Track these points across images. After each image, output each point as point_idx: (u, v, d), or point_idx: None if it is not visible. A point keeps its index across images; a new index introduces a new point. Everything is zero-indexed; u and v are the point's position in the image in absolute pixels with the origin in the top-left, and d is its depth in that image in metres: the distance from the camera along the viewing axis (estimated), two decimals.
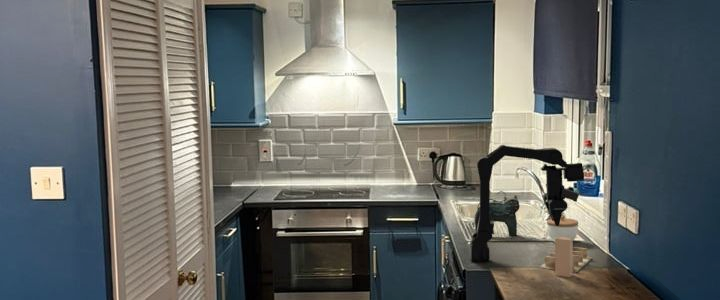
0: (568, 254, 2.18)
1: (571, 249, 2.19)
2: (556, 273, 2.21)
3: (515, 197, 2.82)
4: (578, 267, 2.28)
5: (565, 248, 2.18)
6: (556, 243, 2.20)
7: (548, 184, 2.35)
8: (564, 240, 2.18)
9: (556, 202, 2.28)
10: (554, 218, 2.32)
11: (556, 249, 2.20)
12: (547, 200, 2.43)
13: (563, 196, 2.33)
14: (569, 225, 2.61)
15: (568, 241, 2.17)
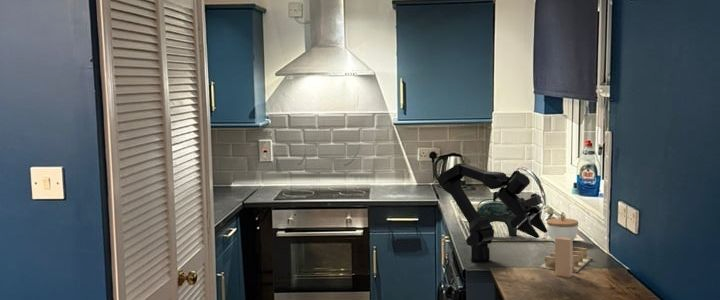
0: (568, 254, 2.18)
1: (571, 249, 2.19)
2: (556, 273, 2.21)
3: None
4: (578, 267, 2.28)
5: (565, 248, 2.18)
6: (556, 243, 2.20)
7: (507, 207, 2.29)
8: (564, 240, 2.18)
9: (513, 220, 2.20)
10: (528, 233, 2.21)
11: (556, 249, 2.20)
12: None
13: (524, 208, 2.24)
14: (569, 225, 2.61)
15: (568, 241, 2.17)
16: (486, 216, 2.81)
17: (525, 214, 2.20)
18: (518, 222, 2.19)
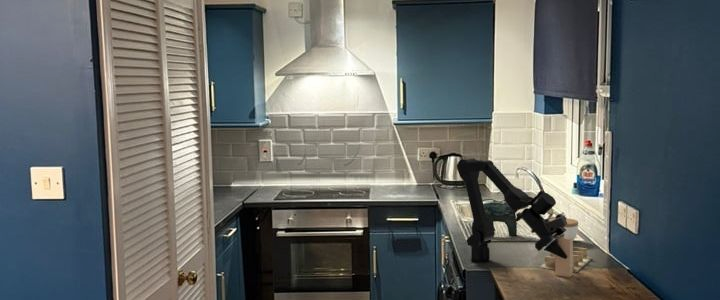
0: (568, 254, 2.18)
1: (571, 249, 2.19)
2: (556, 273, 2.21)
3: None
4: (578, 267, 2.28)
5: (565, 247, 2.18)
6: None
7: (531, 228, 2.24)
8: (564, 240, 2.18)
9: (538, 242, 2.16)
10: (556, 253, 2.19)
11: None
12: None
13: (549, 230, 2.19)
14: (569, 225, 2.61)
15: (568, 241, 2.17)
16: (486, 216, 2.81)
17: (551, 236, 2.15)
18: (544, 244, 2.14)
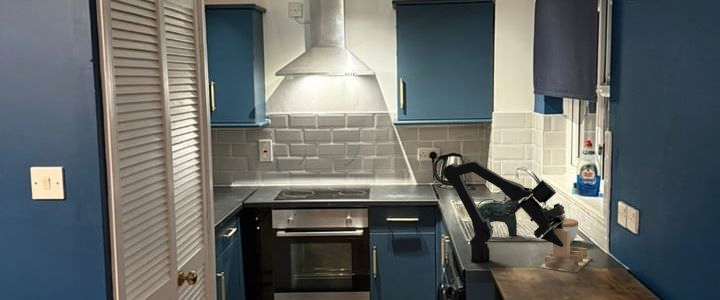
0: (566, 245, 2.27)
1: (568, 240, 2.29)
2: None
3: None
4: (578, 267, 2.28)
5: (563, 239, 2.28)
6: None
7: (530, 217, 2.34)
8: (562, 232, 2.28)
9: (537, 229, 2.25)
10: (553, 242, 2.27)
11: None
12: None
13: (547, 218, 2.29)
14: (569, 225, 2.61)
15: (566, 233, 2.27)
16: (486, 216, 2.81)
17: (549, 224, 2.25)
18: (542, 232, 2.24)
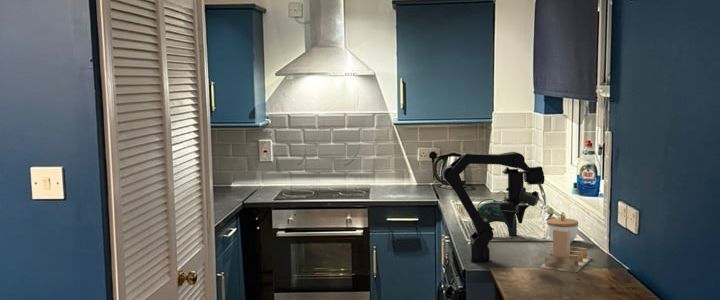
0: (565, 245, 2.27)
1: (568, 241, 2.29)
2: None
3: None
4: (578, 267, 2.28)
5: (563, 239, 2.28)
6: (554, 235, 2.29)
7: (508, 186, 2.41)
8: (562, 232, 2.28)
9: (505, 204, 2.34)
10: (507, 220, 2.38)
11: (554, 241, 2.29)
12: None
13: (520, 199, 2.38)
14: (569, 225, 2.61)
15: (565, 233, 2.27)
16: (486, 216, 2.81)
17: (517, 207, 2.34)
18: (507, 209, 2.34)
